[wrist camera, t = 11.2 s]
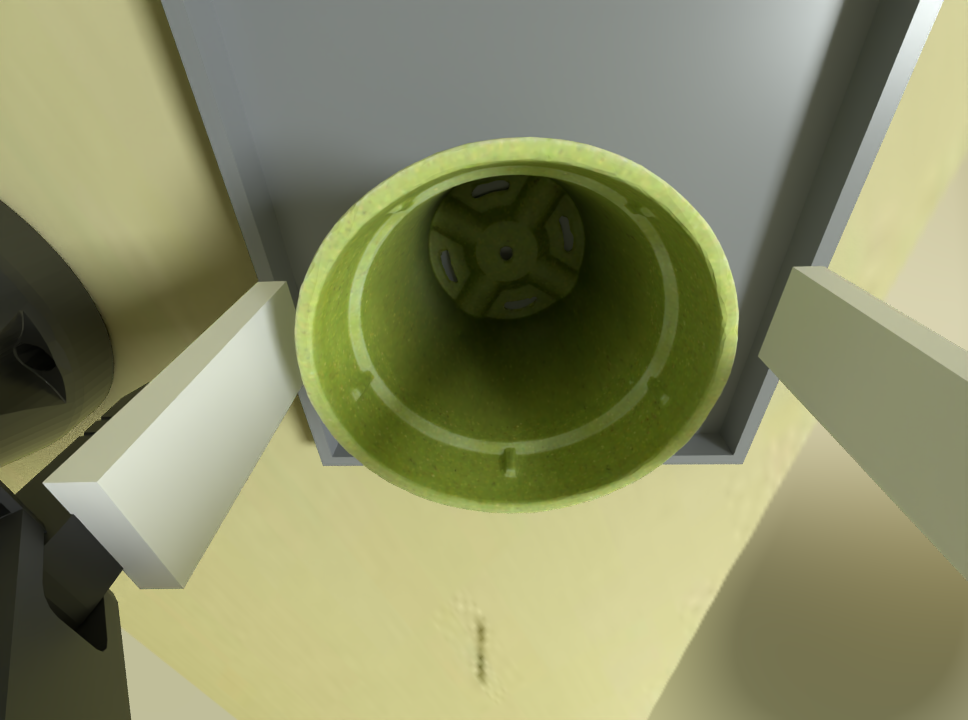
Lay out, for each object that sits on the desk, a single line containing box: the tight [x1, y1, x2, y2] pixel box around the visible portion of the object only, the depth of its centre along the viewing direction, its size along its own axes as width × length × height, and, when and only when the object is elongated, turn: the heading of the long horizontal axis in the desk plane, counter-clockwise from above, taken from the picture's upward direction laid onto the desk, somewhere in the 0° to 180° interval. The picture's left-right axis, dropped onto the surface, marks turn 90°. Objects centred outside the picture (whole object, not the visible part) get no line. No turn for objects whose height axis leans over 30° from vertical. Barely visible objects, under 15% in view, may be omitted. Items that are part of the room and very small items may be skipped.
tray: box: [161, 0, 944, 466], centre depth 16 cm, size 21×21×2 cm
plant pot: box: [294, 137, 739, 514], centre depth 13 cm, size 9×9×9 cm
